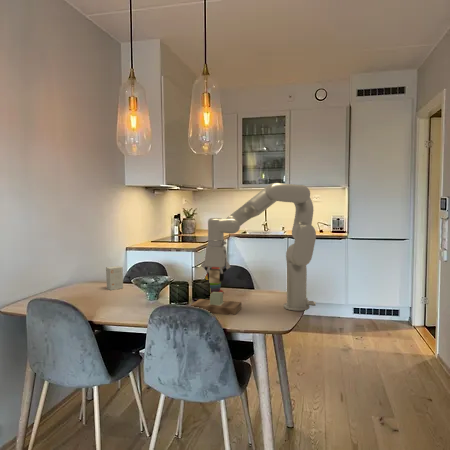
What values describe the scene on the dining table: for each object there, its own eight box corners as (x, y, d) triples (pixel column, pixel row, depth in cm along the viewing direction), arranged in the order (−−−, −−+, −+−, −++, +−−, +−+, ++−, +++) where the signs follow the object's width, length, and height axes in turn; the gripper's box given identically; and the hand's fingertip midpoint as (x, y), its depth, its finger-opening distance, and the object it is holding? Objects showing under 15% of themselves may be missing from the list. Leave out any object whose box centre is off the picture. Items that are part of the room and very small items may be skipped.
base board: (241, 307, 199) (241, 301, 199) (234, 314, 188) (234, 308, 187) (199, 304, 205) (199, 298, 205) (190, 311, 194) (190, 304, 194)
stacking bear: (220, 297, 220) (220, 265, 219) (202, 296, 222) (201, 264, 221) (224, 292, 231) (224, 261, 229) (207, 291, 233) (206, 261, 231)
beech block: (222, 281, 197) (222, 269, 197) (219, 283, 192) (219, 271, 192) (212, 280, 199) (212, 268, 198) (209, 282, 194) (209, 270, 193)
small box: (119, 286, 248) (118, 265, 247) (123, 288, 243) (122, 267, 242) (106, 288, 243) (105, 267, 242) (110, 290, 238) (109, 268, 237)
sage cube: (223, 302, 198) (223, 292, 198) (219, 305, 193) (219, 294, 193) (213, 301, 199) (213, 291, 199) (210, 304, 195) (209, 294, 194)
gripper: (234, 243, 195) (234, 280, 197) (201, 242, 200) (201, 278, 202) (230, 245, 188) (230, 283, 189) (196, 243, 193) (196, 281, 194)
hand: (215, 280), depth 195 cm, fingers closed on beech block, 5 cm apart
